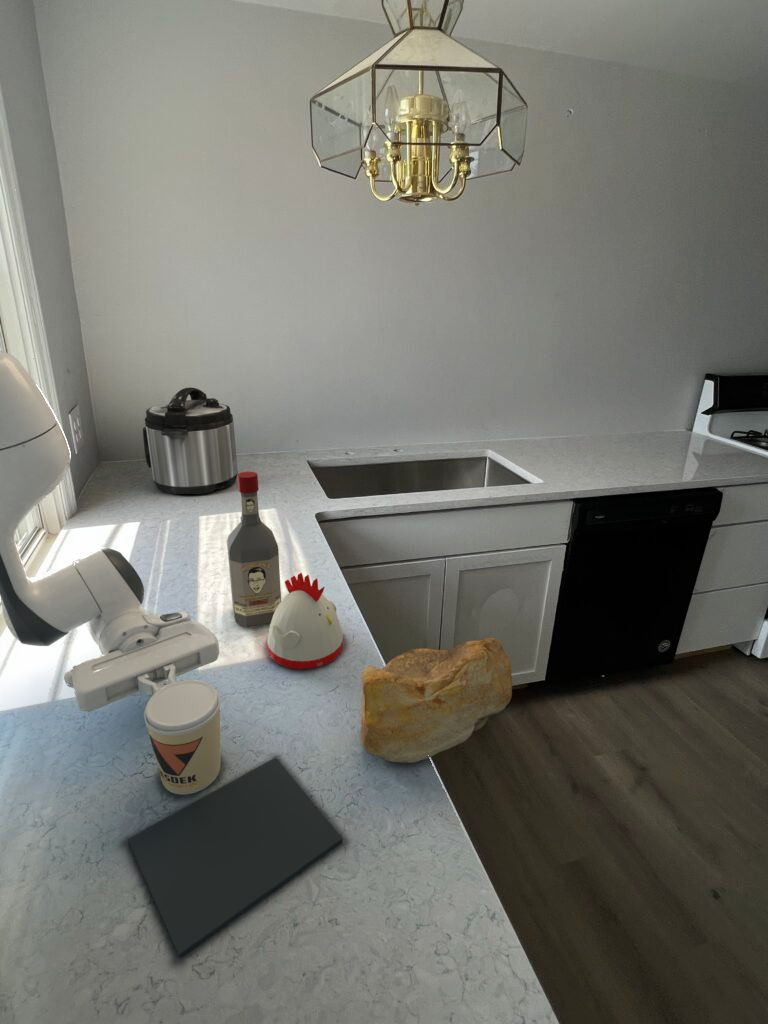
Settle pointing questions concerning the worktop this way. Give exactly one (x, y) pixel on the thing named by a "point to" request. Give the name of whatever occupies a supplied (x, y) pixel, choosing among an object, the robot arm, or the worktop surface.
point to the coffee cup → (185, 735)
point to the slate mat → (230, 851)
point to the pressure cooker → (190, 444)
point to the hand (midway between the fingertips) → (167, 692)
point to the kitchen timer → (304, 627)
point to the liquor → (253, 561)
